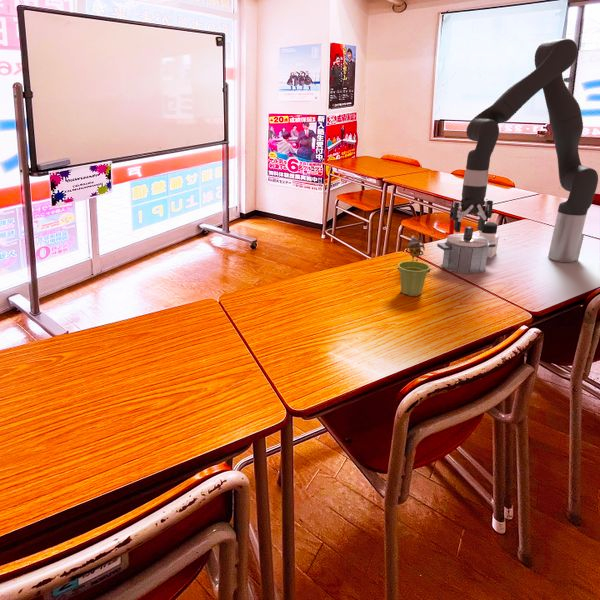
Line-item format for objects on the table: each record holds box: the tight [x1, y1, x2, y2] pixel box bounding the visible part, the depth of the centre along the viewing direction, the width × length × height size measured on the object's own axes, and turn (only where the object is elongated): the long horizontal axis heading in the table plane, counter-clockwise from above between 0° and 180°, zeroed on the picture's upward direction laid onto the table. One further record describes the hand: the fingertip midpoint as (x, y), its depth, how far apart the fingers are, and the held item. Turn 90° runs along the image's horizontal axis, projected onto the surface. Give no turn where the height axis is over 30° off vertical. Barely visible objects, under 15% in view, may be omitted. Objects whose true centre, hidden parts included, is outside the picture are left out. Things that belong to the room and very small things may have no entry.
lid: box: [446, 226, 488, 248], centre depth 173 cm, size 14×14×5 cm
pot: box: [436, 237, 496, 275], centre depth 176 cm, size 19×14×9 cm
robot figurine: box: [404, 235, 431, 273], centre depth 172 cm, size 11×9×12 cm
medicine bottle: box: [477, 221, 500, 259], centre depth 188 cm, size 7×7×12 cm
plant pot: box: [397, 260, 431, 297], centre depth 154 cm, size 9×9×9 cm
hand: (468, 231), depth 172 cm, fingers open, 8 cm apart
